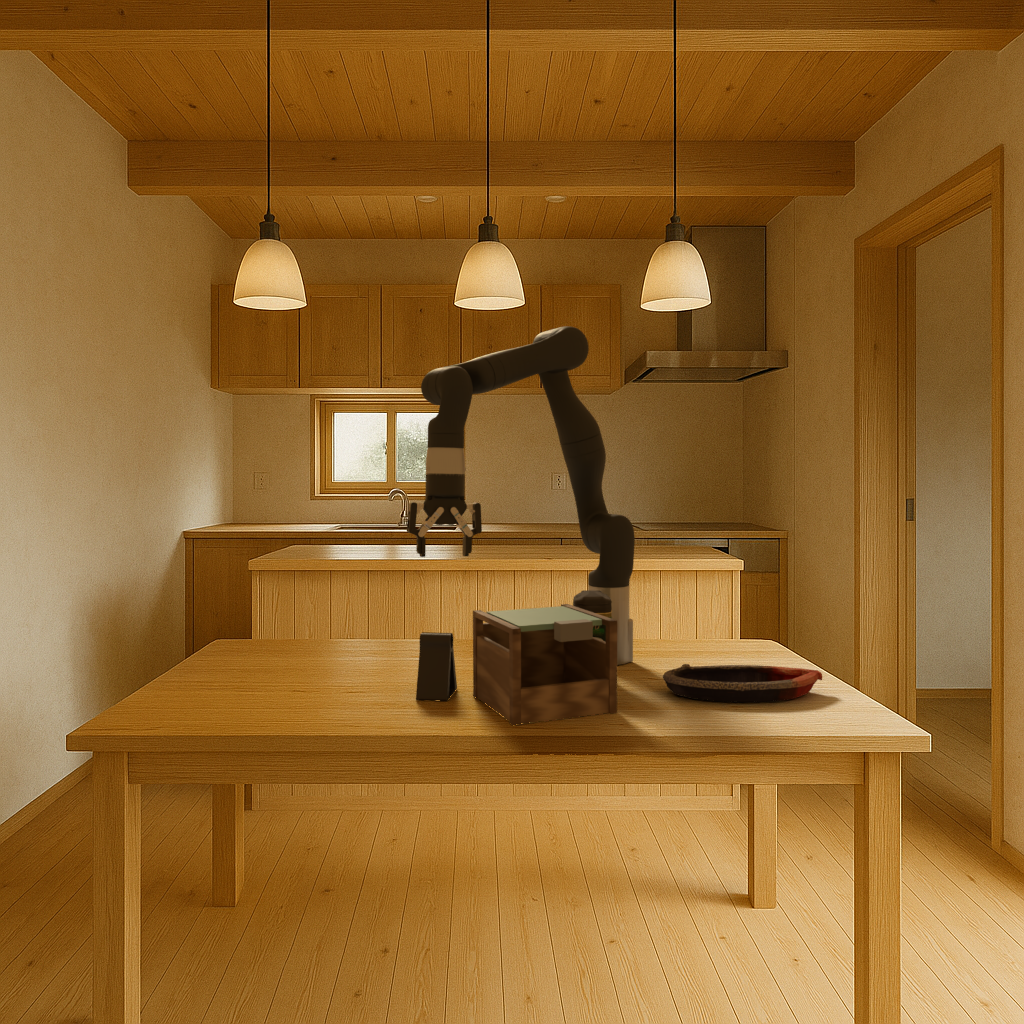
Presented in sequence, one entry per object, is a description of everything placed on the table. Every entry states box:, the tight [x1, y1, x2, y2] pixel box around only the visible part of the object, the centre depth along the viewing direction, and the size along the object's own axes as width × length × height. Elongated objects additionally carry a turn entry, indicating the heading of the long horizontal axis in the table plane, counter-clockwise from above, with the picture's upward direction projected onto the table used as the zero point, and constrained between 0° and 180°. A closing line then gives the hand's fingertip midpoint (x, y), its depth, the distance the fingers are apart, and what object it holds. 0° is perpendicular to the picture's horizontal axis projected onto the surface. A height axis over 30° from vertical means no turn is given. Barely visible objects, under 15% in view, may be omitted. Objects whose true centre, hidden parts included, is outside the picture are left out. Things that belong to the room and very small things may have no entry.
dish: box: [662, 663, 823, 704], centre depth 161 cm, size 16×31×5 cm, turn 90°
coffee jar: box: [572, 589, 612, 642], centre depth 170 cm, size 10×8×19 cm
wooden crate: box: [472, 603, 618, 726], centre depth 154 cm, size 20×20×16 cm
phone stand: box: [415, 631, 458, 702], centre depth 161 cm, size 9×6×12 cm, turn 171°
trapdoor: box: [485, 605, 602, 642], centre depth 151 cm, size 16×22×3 cm
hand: (444, 556), depth 162 cm, fingers open, 8 cm apart
